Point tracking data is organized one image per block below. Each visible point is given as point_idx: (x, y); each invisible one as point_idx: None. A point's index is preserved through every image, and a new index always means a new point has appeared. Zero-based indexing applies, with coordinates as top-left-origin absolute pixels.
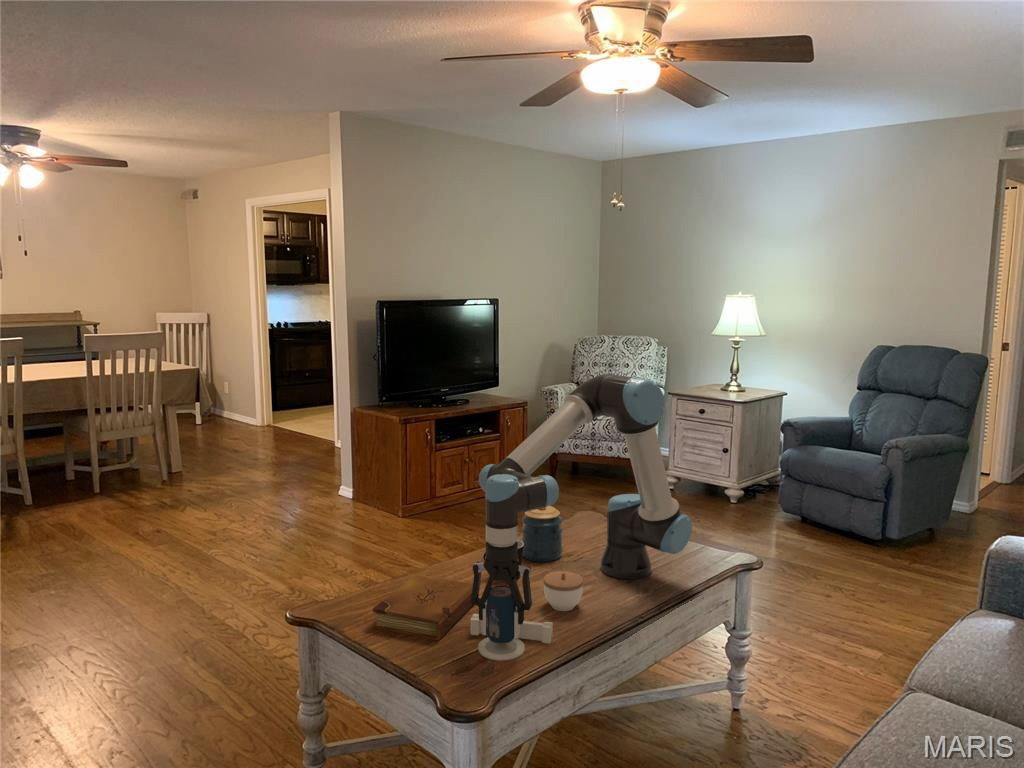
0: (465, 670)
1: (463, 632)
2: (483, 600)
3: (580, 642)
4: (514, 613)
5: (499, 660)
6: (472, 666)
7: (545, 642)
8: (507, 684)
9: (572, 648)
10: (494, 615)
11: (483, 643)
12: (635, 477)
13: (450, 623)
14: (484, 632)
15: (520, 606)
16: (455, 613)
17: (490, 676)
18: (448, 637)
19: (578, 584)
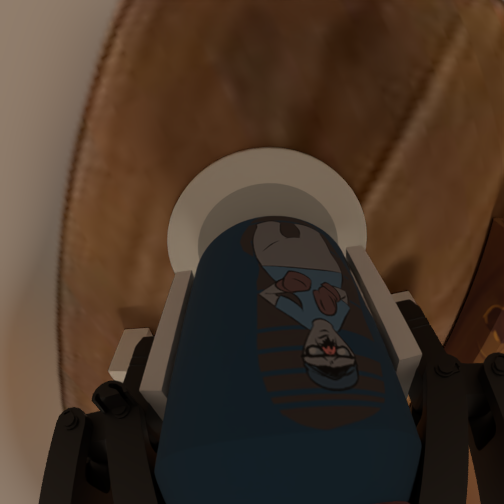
0: (348, 28)
1: (431, 293)
2: (443, 415)
3: (68, 351)
4: (162, 383)
5: (235, 153)
6: (333, 65)
7: (137, 329)
8: (125, 5)
9: (62, 322)
10: (306, 318)
11: (349, 244)
12: None
13: (477, 304)
14: (357, 254)
15: (111, 433)
16: (470, 345)
17: (218, 18)
18: (470, 248)
19: None
